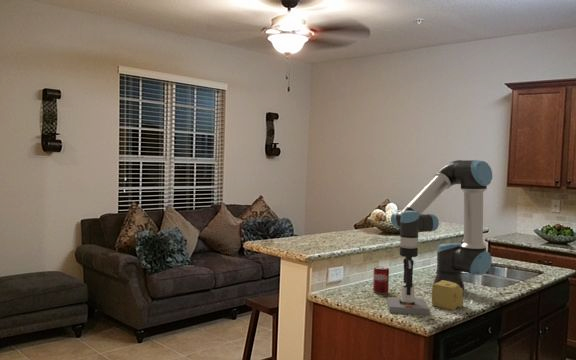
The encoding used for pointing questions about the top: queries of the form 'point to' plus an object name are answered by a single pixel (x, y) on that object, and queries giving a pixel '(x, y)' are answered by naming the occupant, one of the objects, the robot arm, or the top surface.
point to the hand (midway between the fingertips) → (407, 300)
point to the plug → (404, 294)
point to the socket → (407, 306)
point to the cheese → (447, 295)
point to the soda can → (381, 280)
